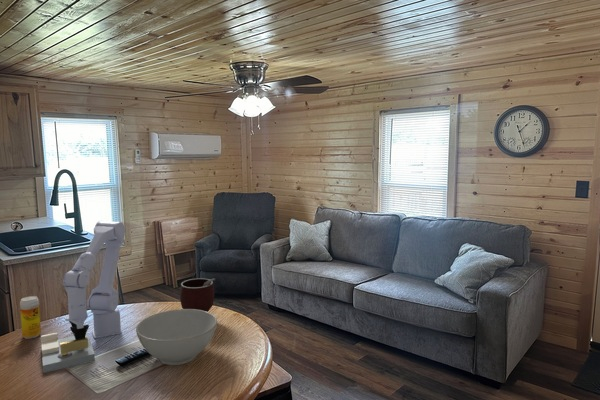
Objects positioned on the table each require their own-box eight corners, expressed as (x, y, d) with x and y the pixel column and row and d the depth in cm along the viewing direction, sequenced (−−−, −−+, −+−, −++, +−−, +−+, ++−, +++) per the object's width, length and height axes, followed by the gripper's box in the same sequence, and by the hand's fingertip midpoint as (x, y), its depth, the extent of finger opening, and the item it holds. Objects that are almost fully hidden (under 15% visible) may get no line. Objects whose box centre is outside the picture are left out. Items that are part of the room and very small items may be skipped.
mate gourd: (173, 326, 170) (172, 278, 168) (193, 314, 183) (192, 270, 181) (206, 332, 165) (205, 283, 163) (224, 319, 178) (223, 273, 176)
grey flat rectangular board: (88, 339, 158) (88, 333, 157) (94, 360, 142) (94, 353, 142) (41, 349, 150) (41, 342, 149) (43, 373, 134) (42, 365, 134)
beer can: (32, 340, 157) (29, 301, 155) (18, 338, 158) (15, 300, 156) (44, 333, 163) (42, 296, 161) (31, 331, 164) (29, 295, 162)
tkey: (87, 348, 145) (87, 337, 144) (88, 350, 143) (87, 339, 143) (60, 354, 140) (60, 342, 140) (61, 356, 139) (60, 344, 138)
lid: (57, 341, 150) (57, 332, 150) (59, 351, 143) (58, 341, 143) (41, 345, 147) (40, 335, 147) (42, 354, 140) (41, 344, 140)
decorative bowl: (119, 367, 138) (117, 332, 136) (172, 334, 163) (171, 304, 161) (186, 384, 128) (185, 346, 127) (231, 346, 153) (231, 315, 151)
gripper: (63, 300, 151) (65, 335, 153) (65, 313, 139) (68, 351, 141) (84, 296, 155) (86, 331, 157) (89, 308, 143) (91, 346, 145)
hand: (79, 340), depth 149 cm, fingers open, 7 cm apart
